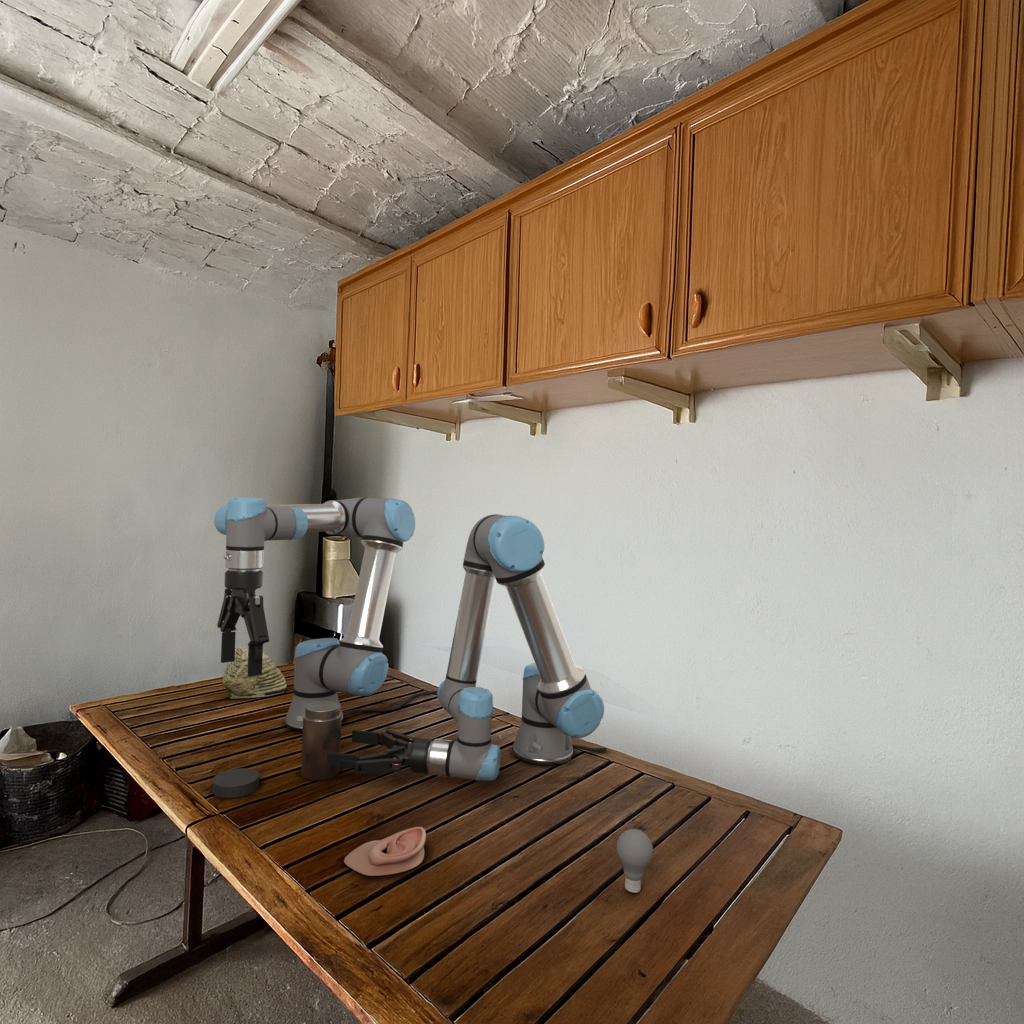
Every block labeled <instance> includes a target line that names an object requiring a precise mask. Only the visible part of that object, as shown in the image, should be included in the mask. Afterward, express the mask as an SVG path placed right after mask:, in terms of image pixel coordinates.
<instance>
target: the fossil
mask: <svg viewBox="0 0 1024 1024" xmlns="http://www.w3.org/2000/svg"><path fill="white" fill-rule="evenodd" d="M247 675H248V647H247V646H246V647H245V646H238V647H237V648H235V661H232V662H226V666H225V668H224V671H223V675H222V676H223V677H222V685H223V687H224V688H225V690H226V691H228V693H229V698H230V699H250V698H264V697H271V696H275V695H281V694H284V693H285V691H286V689H287V687H288V686H287V680H286V678H285V676H284V674H283V673H282V672H281V669H279V668H278V667H277V665H276V663H275V662H274V660H273V659H272V658H271V657H270V656H269V655H268V654H267V653H266V652H265V650H264V649H263V658H262V675H257V676H251V677H248V676H247Z"/></svg>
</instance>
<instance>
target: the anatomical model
mask: <svg viewBox="0 0 1024 1024" xmlns="http://www.w3.org/2000/svg"><path fill="white" fill-rule="evenodd" d="M426 839H427V834H426V829H425V827H423V826H415V827H411V828H407V829H404V830H401V831H398V832H396V833H394V834H392V835H389V836H387V837H385V838H383V839H376V840H370V841H368V842H365V843H363V844H361V845H359V846H357V847H356V848H355V849H353V850H352V851H350V852H349V853H348V854H347V855H346V856H345V857H344V859H343V863H344V865H346V866H347V867H348V868H350V869H352V870H353V871H355V872H356V873H359V874H361V875H364V876H369V877H377V876H389V875H394V874H395V875H396V874H399V873H403V872H407V871H409V870H412V869H414V868H416V867H418V866H419V865H421V863H422V862H423V860H424V859H425V848H424V846H425V844H426Z"/></svg>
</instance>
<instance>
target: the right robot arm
mask: <svg viewBox="0 0 1024 1024" xmlns="http://www.w3.org/2000/svg"><path fill="white" fill-rule="evenodd" d="M466 543H467V544H466V546H465V553H464V556H463V562H462V568H463V570H464V571H465V574H464V579H463V586H462V589H461V590H462V591H461V595H460V601H459V606H458V610H457V617H456V621H455V627H454V631H453V637H452V643H451V649H450V652H449V658H448V663H447V669H446V674H445V679H444V680H443V681H442V682H441V683H440V684H439V686H438V688H437V690H438V691H437V690H436V691H437V693H436V696H437V701H438V702H439V703H440V706H441V708H442V709H443V710H444V711H446V712H447V713H448V714H449V716H451V717H452V718H453V720H454V721H455V722H456V723H457V736H456V740H451V739H443V738H435V739H432V738H430V737H419V736H418V737H416V736H411V735H407V734H405V733H401V732H399V731H395V730H392V729H389V728H387V729H385V731H380V732H379V731H367V730H359V729H352V730H351V743H354V744H355V743H356V744H357V743H358V744H363V745H364V744H365V745H375V746H379V747H383V746H384V747H385V748H387V749H385V751H384V752H378V753H373V754H368V755H361V756H359V754H358V753H355V754H353V753H345V752H344V753H343V752H340V753H335V752H328V753H327V766H336V767H340V768H345V769H353V774H354V775H368V774H378V773H394V772H395V773H401V772H402V766H408V767H409V769H410V772H411V773H413V774H418V775H419V774H420V775H427V774H430V776H431V775H432V776H440V777H441V778H445V777H448V778H456V779H466V780H474V781H483V782H492V781H495V780H496V779H497V778H498V776H499V773H500V767H501V757H502V755H501V747H500V746H499V745H497V744H494V743H492V727H493V713H494V704H493V703H494V700H493V699H494V698H493V697H494V696H493V692H492V691H491V690H490V689H487V688H484V687H481V686H477V681H478V674H479V669H480V666H481V665H480V664H481V659H482V654H483V650H484V644H485V638H486V633H487V628H488V624H489V619H490V613H491V608H492V602H493V597H494V592H495V588H496V583H497V584H498V585H500V586H502V587H504V588H506V591H507V593H508V596H509V599H510V601H511V604H512V606H513V609H514V612H515V614H516V617H517V620H518V623H519V625H520V627H521V630H522V632H523V635H524V638H525V641H526V643H527V646H528V648H529V651H530V653H531V656H532V659H533V661H534V662H533V663H529V664H527V665H526V666H525V667H524V670H523V675H522V697H521V698H522V700H521V721H520V725H519V727H518V730H517V733H516V736H515V739H514V741H513V745H512V754H513V756H515V757H516V758H517V759H518V760H520V761H522V762H524V763H528V764H531V765H535V766H558V765H563V764H565V763H568V762H569V761H571V760H572V758H573V756H574V749H579V750H583V751H587V752H596V753H597V752H599V753H600V752H607V747H589V746H585V745H579V744H573V742H572V739H571V738H573V739H582V738H586V737H588V736H590V735H591V734H592V733H594V732H595V731H596V730H597V729H598V728H599V726H600V725H601V722H602V719H603V718H604V714H605V703H604V700H603V698H602V696H601V695H600V694H599V693H598V692H597V691H596V689H595V690H594V689H592V687H591V684H590V682H589V680H588V677H587V674H586V671H585V669H584V668H583V667H582V666H580V665H577V664H575V661H574V657H573V655H572V653H571V650H570V647H569V644H568V641H567V639H566V636H565V633H564V631H563V629H562V625H561V622H560V620H559V617H558V615H557V612H556V609H555V607H554V604H553V601H552V598H551V596H550V593H549V591H548V588H547V585H546V582H545V580H544V577H543V571H544V570H545V567H546V564H545V560H544V558H543V555H544V552H545V539H544V536H543V534H542V531H541V530H540V529H539V527H538V526H537V525H536V524H535V523H534V522H533V521H530V520H529V519H527V518H524V517H522V516H518V515H504V514H503V515H502V514H496V513H495V514H488V515H486V516H484V517H481V518H480V519H479V520H478V521H477V522H476V523H475V524H474V525H473V527H472V529H471V530H470V532H469V536H468V538H467V542H466Z"/></svg>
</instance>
